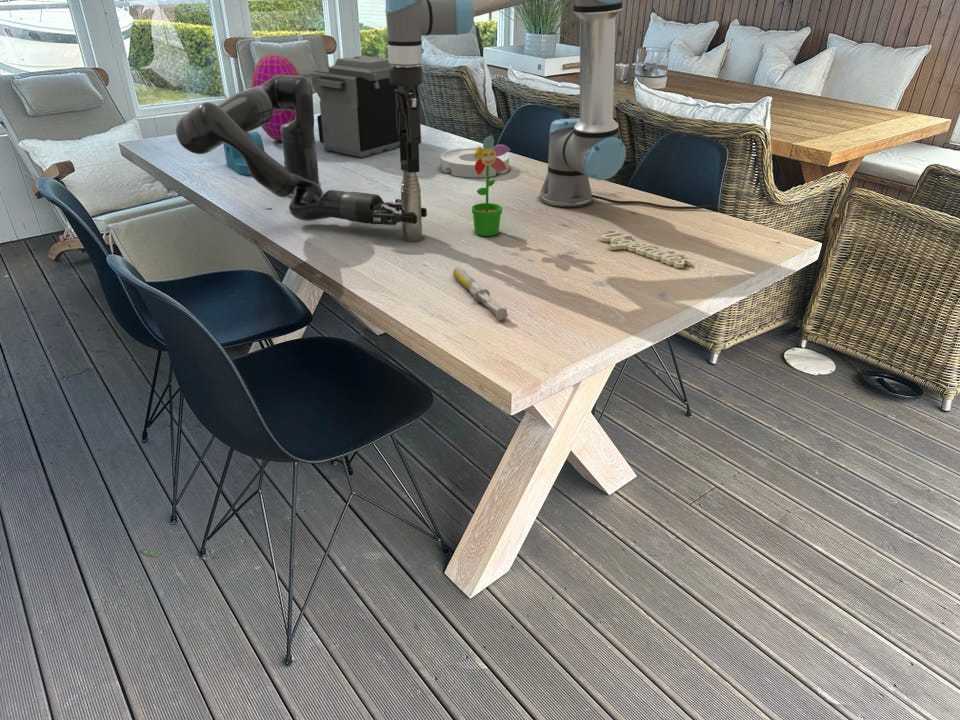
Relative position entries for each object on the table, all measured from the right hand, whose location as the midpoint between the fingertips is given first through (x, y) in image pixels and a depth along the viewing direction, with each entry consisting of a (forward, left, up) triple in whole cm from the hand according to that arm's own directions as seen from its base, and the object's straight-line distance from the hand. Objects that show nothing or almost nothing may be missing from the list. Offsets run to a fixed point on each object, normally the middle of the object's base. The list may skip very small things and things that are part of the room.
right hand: (409, 167), depth 166 cm
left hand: (-3, 0, -12) cm, 12 cm away
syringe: (-30, +24, -18) cm, 42 cm away
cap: (0, 0, +1) cm, 1 cm away
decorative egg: (+97, -70, -18) cm, 121 cm away
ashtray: (+15, -67, -18) cm, 71 cm away
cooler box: (+63, -78, -18) cm, 101 cm away
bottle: (0, 0, -18) cm, 18 cm away
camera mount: (+81, -32, -18) cm, 89 cm away
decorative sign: (-54, -17, -18) cm, 60 cm away
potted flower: (-15, -12, -18) cm, 27 cm away
